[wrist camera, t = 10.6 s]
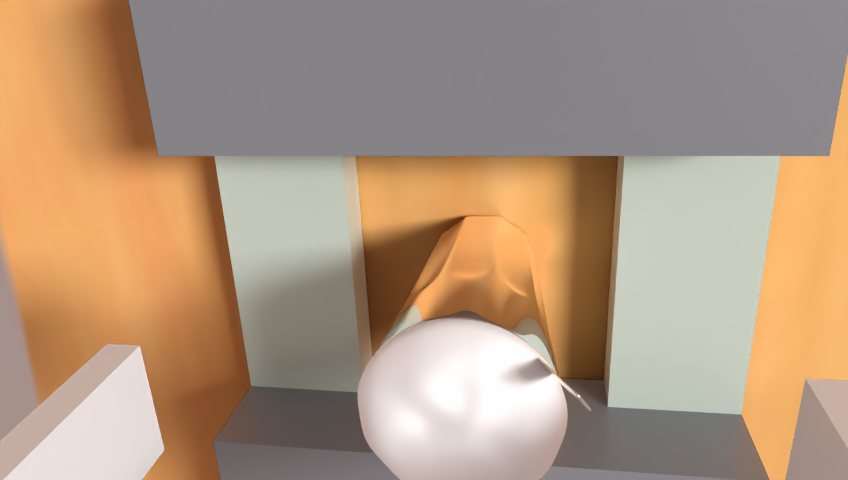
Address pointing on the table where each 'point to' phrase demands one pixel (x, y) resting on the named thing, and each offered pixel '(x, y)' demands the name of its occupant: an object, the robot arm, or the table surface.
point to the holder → (498, 136)
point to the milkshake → (468, 366)
